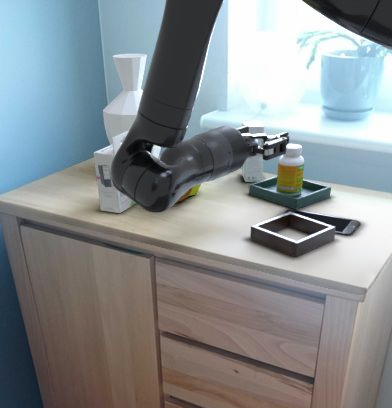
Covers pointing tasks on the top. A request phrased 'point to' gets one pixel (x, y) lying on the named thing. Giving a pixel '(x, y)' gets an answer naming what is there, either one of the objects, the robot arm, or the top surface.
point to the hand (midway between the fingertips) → (266, 134)
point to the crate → (294, 248)
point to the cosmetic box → (253, 165)
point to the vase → (126, 97)
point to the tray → (308, 196)
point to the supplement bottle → (290, 171)
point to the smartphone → (331, 221)
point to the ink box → (107, 192)
